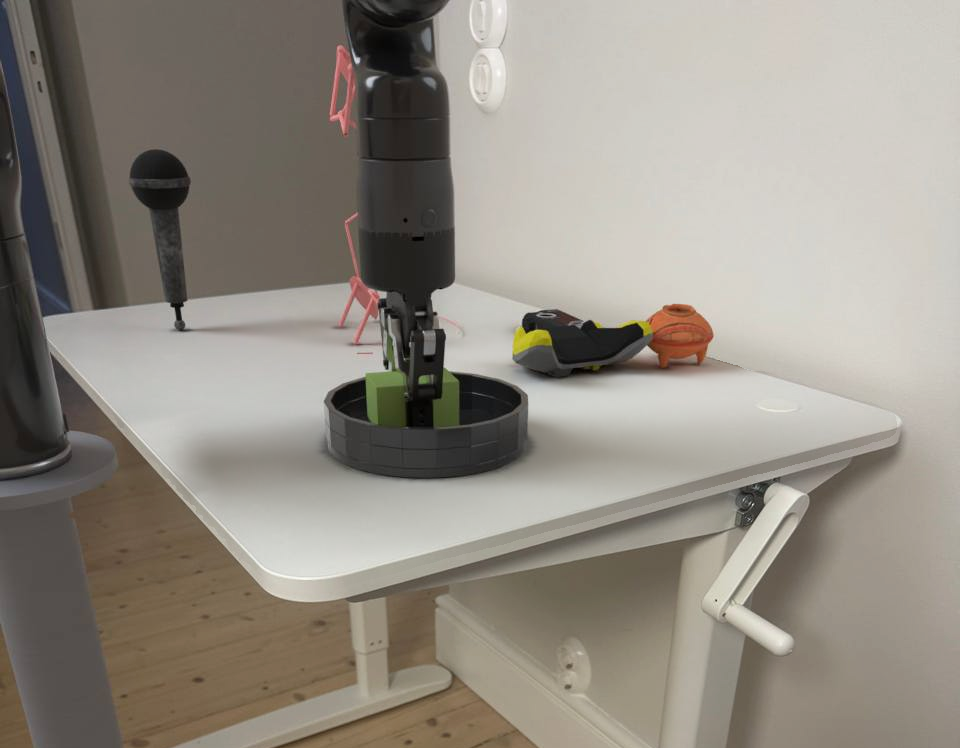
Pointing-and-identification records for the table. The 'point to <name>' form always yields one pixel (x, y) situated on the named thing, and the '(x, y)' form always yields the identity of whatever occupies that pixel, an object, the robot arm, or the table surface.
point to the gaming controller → (579, 346)
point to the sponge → (390, 400)
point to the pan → (431, 432)
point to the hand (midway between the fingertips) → (413, 433)
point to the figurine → (357, 287)
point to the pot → (679, 333)
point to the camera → (549, 319)
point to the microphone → (164, 217)
